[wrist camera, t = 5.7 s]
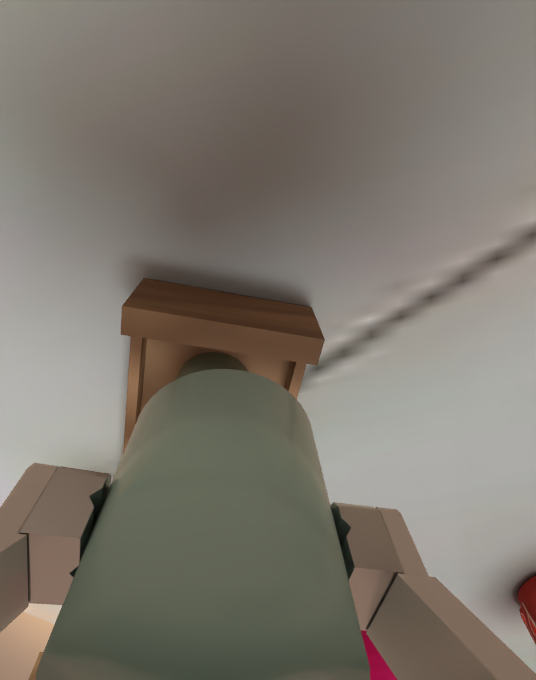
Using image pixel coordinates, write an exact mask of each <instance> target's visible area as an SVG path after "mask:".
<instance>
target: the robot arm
mask: <svg viewBox="0 0 536 680" xmlns="http://www.w3.org/2000/svg"><path fill="white" fill-rule="evenodd" d="M110 482H111V475H110V474H107V473H101V472H94V471H88V470H81V469H75V468H68V467H62V466H60V467H58V466H52V465H45V464H39V463H34V464H32V465H31V466H30V467H28V468H27V470H26V471H25V473H24V474H23V475H22V477H21V478H20V480H19V481H18V483H17V484H16V486H15V487H14V489H13V490H12V491H11V493H10V494H9V496H8V497H7V499H6V500H5V502H4V503H3V504H2V506H1V507H0V632H1V631H2V630H3V629H5V628H6V627H7V626H8V625H9V624H10V623H11V622H12V621H13V620H14V619H15V618H16V617H17V616H18V615H19V614H21V613H22V612H23V611H24V610H25V609H26V608H27V607H28V603H37V604H55V605H63V603H64V600H65V598H66V595H67V593H68V590H69V588H70V585H71V583H72V581H73V578H74V576H75V573H76V571H77V568H78V566H79V563H80V561H81V558H82V556H83V553H84V551H85V548H86V546H87V543H88V541H89V538H90V536H91V534H92V531H93V529H94V526H95V524H96V521H97V519H98V516H99V514H100V511H101V509H102V506H103V504H104V501H105V499H106V496H107V494H108V491H109V489H110ZM331 510H332V514H333V518H334V523H335V527H336V531H337V535H338V539H339V543H340V547H341V551H342V555H343V559H344V563H345V568H346V572H347V576H348V580H349V584H350V588H351V592H352V596H353V600H354V604H355V609H356V613H357V617H358V621H359V625H360V629H361V630H363V631H367V632H366V634H367V635H368V637H369V638H370V640H371V641H372V643H373V644H374V646H375V647H376V649H377V650H378V651H379V653H380V654H381V656H382V657H383V659H384V660H385V662H386V663H387V665H388V666H389V668H390V669H391V671H392V672H393V674H394V675H395V677H396V678H397V680H536V674H535V673H534V672H533V671H532V670H531V669H530V668H529V667H528V666H527V665H526V664H525V663H524V662H523V661H522V660H521V659H520V658H519V657H518V656H517V655H516V654H515V653H514V652H512V651H511V650H510V649H509V648H508V647H507V646H506V645H505V644H504V643H503V642H502V641H501V640H500V639H499V638H498V637H497V636H496V635H495V634H494V633H493V632H492V631H491V630H490V629H489V628H487V627H486V626H485V625H484V624H483V623H482V622H481V621H480V620H479V619H478V618H477V617H476V616H475V615H474V614H473V613H472V612H471V611H470V610H469V609H468V608H467V607H466V606H465V605H464V604H463V603H461V602H460V601H459V600H458V599H457V598H456V597H455V596H454V595H453V594H452V593H451V592H450V591H449V590H448V589H447V588H446V587H445V586H444V585H443V584H442V583H441V582H440V581H439V580H438V579H436V578H435V577H429V576H428V573H427V571H426V569H425V567H424V564H423V562H422V560H421V558H420V555H419V553H418V551H417V549H416V546H415V544H414V542H413V540H412V537H411V535H410V533H409V531H408V528H407V526H406V524H405V522H404V519H403V517H402V515H401V513H400V512H399V511H398V510H396V509H387V508H379V507H375V508H374V507H370V506H361V505H353V504H344V503H336V502H333V503H332V505H331Z"/></svg>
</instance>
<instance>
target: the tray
mask: <svg viewBox="0 0 536 680" xmlns="http://www.w3.org/2000/svg"><path fill="white" fill-rule="evenodd" d="M121 335H128V336H131V343H130V358H129V374H128V389H127V405H126V420H125V436H124V451H123V454H124V452H125V449H126V447H127V444H128V442H129V439H130V437H131V435H132V432H133V430H134V427H135V425H136V422H137V420H138V417H139V415H140V413H141V411H142V410H143V408H144V406H145V405H146V404H147V402H148V401H149V400H150V399H151V397H153V396H154V395H155V394H156V393H157V392H158V391H159V390H160V389H162V388H163V387H165V386H166V385H167V384H169V383H171V382H173V381H175V380H176V379H177V375H178V373H179V371H180V369H181V367H182V366H183V365H184V364H185V363H186V362H187V361H188V360H190V359H191V358H193V357H195V356H197V355H199V354H203V353H209V352H217V353H223V354H227V355H230V356H232V357H234V358H236V359H237V360H239V361H240V362H241V363H242V364H243V365H244V366H245V367H246V368H247V370H248V371H249V372H251V373H255V374H257V375H260V376H263V377H266V378H268V379H270V380H272V381H274V382H276V383H277V384H279V385H280V386H282V387H283V388H285V389H286V390H287V391H288V392H289V393H291V394H292V395H293V396H294V397H295V398H296V400H297V396H298V392H299V389H300V385H301V381H302V378H303V374H304V371H305V367H306V364H313V365H317V364H318V361H319V357H320V354H321V351H322V347H323V344H324V340H325V339H324V337H323V334H322V332H321V329H320V327H319V324H318V322H317V319H316V317H315V314H314V312H313V310H312V308H311V307H305V306H300V305H294V304H288V303H283V302H277V301H271V300H265V299H260V298H254V297H248V296H243V295H237V294H231V293H226V292H220V291H214V290H208V289H203V288H197V287H191V286H186V285H180V284H174V283H169V282H163V281H157V280H151V279H146V278H144V279H143V280H142V281H141V283H140V284H139V285H138V286H137V288H136V289H135V290H134V292H133V293H132V294H131V295H130V297H129V298H128V299H127V301H126V302H125V303H124V304H123V306H122V319H121Z"/></svg>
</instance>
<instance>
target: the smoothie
mask: <svg viewBox="0 0 536 680" xmlns="http://www.w3.org/2000/svg"><path fill="white" fill-rule="evenodd" d="M518 600H519V603H520V605H521V607H520V614H521V617H522V619H523V621H524V623H525V625H526V627H527V629H528V631H529V633H530V635H531V637H532V638H533V640H534V642H535V644H536V576H534V577H532V578H530V579H529V580H528V581H526V582H525V583H524V584H523V586H522V587H521V588H520V589H519V593H518Z"/></svg>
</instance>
